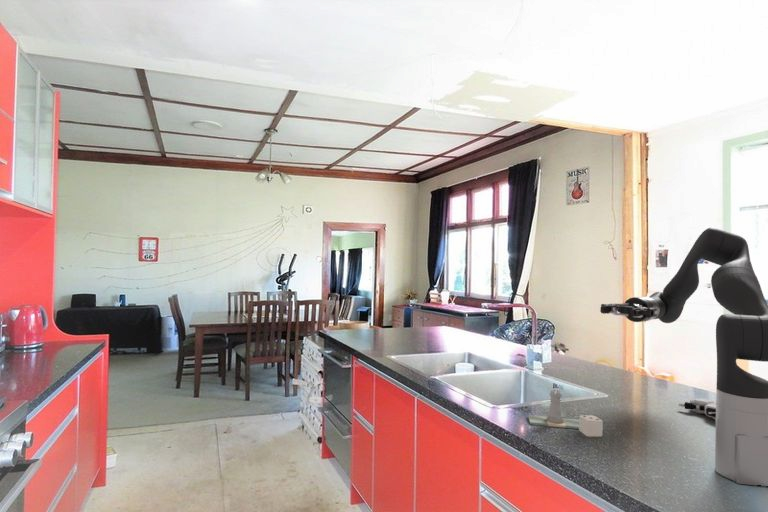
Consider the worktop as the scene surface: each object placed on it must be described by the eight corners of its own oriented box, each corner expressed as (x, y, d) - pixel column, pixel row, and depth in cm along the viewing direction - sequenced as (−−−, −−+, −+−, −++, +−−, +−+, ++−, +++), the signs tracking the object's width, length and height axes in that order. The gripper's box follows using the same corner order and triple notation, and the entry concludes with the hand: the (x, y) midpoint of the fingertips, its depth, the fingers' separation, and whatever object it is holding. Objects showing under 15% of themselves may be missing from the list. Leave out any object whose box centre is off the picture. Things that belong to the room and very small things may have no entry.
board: (602, 431, 120) (602, 428, 120) (530, 424, 124) (530, 422, 124) (596, 423, 126) (596, 421, 126) (527, 417, 129) (527, 415, 129)
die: (602, 436, 116) (602, 420, 116) (586, 436, 116) (587, 420, 116) (594, 431, 120) (594, 415, 120) (579, 430, 120) (579, 415, 120)
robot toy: (675, 413, 140) (725, 427, 126) (674, 398, 141) (724, 410, 126) (706, 411, 144) (757, 424, 129) (705, 396, 144) (756, 407, 130)
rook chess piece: (565, 424, 123) (566, 393, 123) (547, 422, 124) (548, 392, 124) (562, 418, 127) (563, 389, 127) (545, 417, 128) (546, 388, 128)
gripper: (618, 295, 149) (593, 296, 139) (667, 298, 138) (643, 300, 128) (617, 318, 149) (592, 321, 139) (666, 324, 138) (642, 327, 128)
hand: (617, 311), depth 133 cm, fingers open, 8 cm apart
